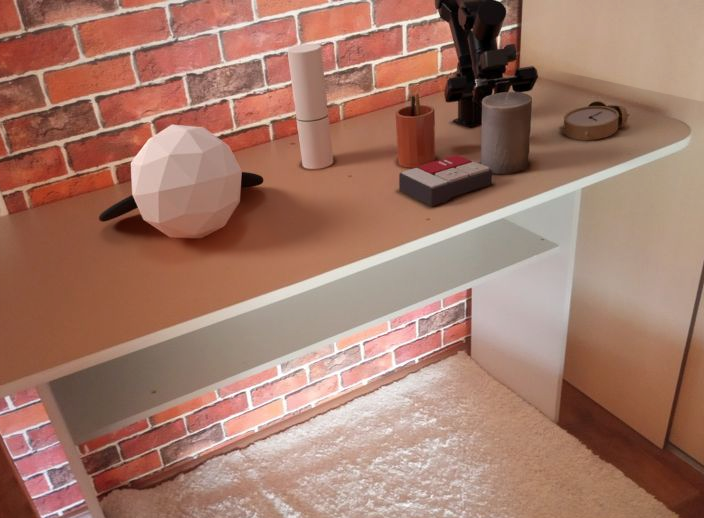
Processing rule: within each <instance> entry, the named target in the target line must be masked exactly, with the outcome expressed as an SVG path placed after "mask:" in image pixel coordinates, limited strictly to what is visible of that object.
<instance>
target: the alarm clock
mask: <svg viewBox="0 0 704 518" xmlns="http://www.w3.org/2000/svg"><path fill="white" fill-rule="evenodd" d="M629 117H630V114H629V113H628V111H627V109H626V107H624V106H622V105H615V104H614V105H613V104H609V105H607V104H606V103H605V102H603V101H601V100H600V101H599V100H594V101H593V102H590V103H589V104H588V105H587V106H582V107H578V108H575V109H572V110H570V111H568V112H567V113H565V115H564V116H563V125H562V126H559V128H558V129H559V130H563V134H564V135H565V136H566V137H568V138H570V139H573V140H577V141H578V140H579V141H581V140H582V141H592V140H599V139H605V138H607V137H610V136H612V135H614V134H615V133H617V132H618V129H620V128H622V127H624V126H625V125H626V124H627V122H628V118H629Z"/></svg>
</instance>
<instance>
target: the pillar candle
mask: <svg viewBox="0 0 704 518" xmlns="http://www.w3.org/2000/svg"><path fill="white" fill-rule="evenodd" d="M532 107H533V98H532V96H531V95H530V94H527V93H526V92H515V91H508V92H503V93H497V94H494V93H492V95H490V96H487V97H486V98H484V99H483V101H482V124H481V139H480V140H481V142H480V164H482V165H484V166H487V167H489V169H490V170H492V174H494V175H508V174H515V173H519V172H521V171H525V170H526V169H527V168H528V167H529V165H530V164H529V158H530V157H529V154H530V145H531V143H530V141H531V128H532V127H531V126H532V125H531V124H532V110H533V109H532Z"/></svg>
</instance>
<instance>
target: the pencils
mask: <svg viewBox="0 0 704 518" xmlns="http://www.w3.org/2000/svg"><path fill="white" fill-rule="evenodd" d="M410 98H411V99H410V100H411V101H410V106H411V112H410V116H414V109H415V105H416V110H417V116H420V115H421V111H420V105H421V103H420V94H419V92H418V91H415V92H414V94H413V95H411V97H410Z"/></svg>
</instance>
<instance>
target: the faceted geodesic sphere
mask: <svg viewBox="0 0 704 518" xmlns="http://www.w3.org/2000/svg"><path fill="white" fill-rule="evenodd" d="M130 178H131V180H130V181H131V195H128V196H127V197H125V198H123V199H121V200H119V201H118V202H116V203H114V204H112V205H111V206H109V207H108V208H106V209H105V210H104V211H102V212H101V213H100V214H99V216H98V220H99V221H100V222H102V223H103V222H108V221H111V220H114V219H117V218H119V217H122V216H124V215H126V214H128V213H130V212H133V211H134V210H136V209H138V211H139V214H140V215H141V218H142V220H143V221H145V222H146V223H147V224H150V226H152V227H154V228H155V229H157V230H158V231H159V232H161V233H163V234H164V235H166V236H167V237H169V238H176V239H177V238H179V239H202V238H204V237H207V236H208V235H210V234H212V233H214V232H216V231H218V230H220V229H221V228H223V227H225V226H226V225H227V223H228V221H229V220H230V218H231V216H232V215H233V214H234V211H235V210H236V208H238V207H237V206H239V204H240V202H241V189H245V188H246V189H247V188H253V187H257V186H258V187H259V186H260V185H262V184H263V183H264V180H265V179H264V177H263V176H261V175H260V174H258V173H253V172H246V171H242V168H241V167H240V164H239V163H238V160H237V159H236V157H235V154H234V152H233V151H232V149H231V147H230V145H228V144H227V143H226V142H225V141H223V140H221V139H220V138H219V137H218V136H217V135H215V134H213V133H212V132H211V131H210V130H208V129H207V128H206V127H204V126H195V125H181V124H170V125H169V126H167V127H166V128H164V129H162V130H160V131H159V132H158V133H156V134H155V135H153V136H152V137H150V138H148V139H147V141H146V142H145V143H144V144H143V146H142V147H141V149H140V150H139V151H138V152H137V154H136V155H135V156H134V158H133V159H132V160H131V162H130Z"/></svg>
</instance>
